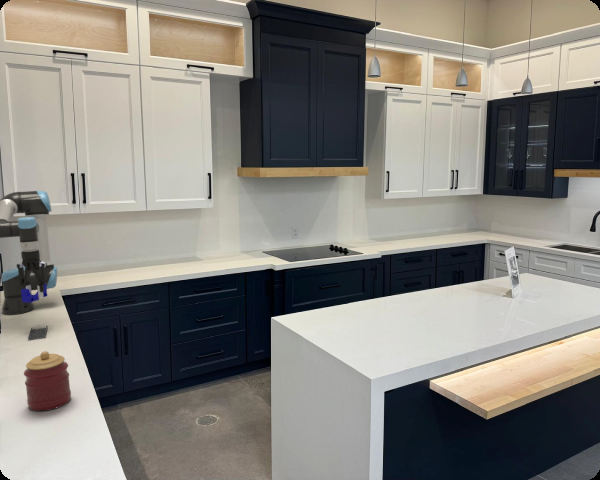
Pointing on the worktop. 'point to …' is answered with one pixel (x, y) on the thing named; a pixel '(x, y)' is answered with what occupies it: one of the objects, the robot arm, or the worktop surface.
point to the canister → (47, 382)
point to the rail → (37, 333)
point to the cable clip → (31, 298)
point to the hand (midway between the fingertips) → (35, 298)
